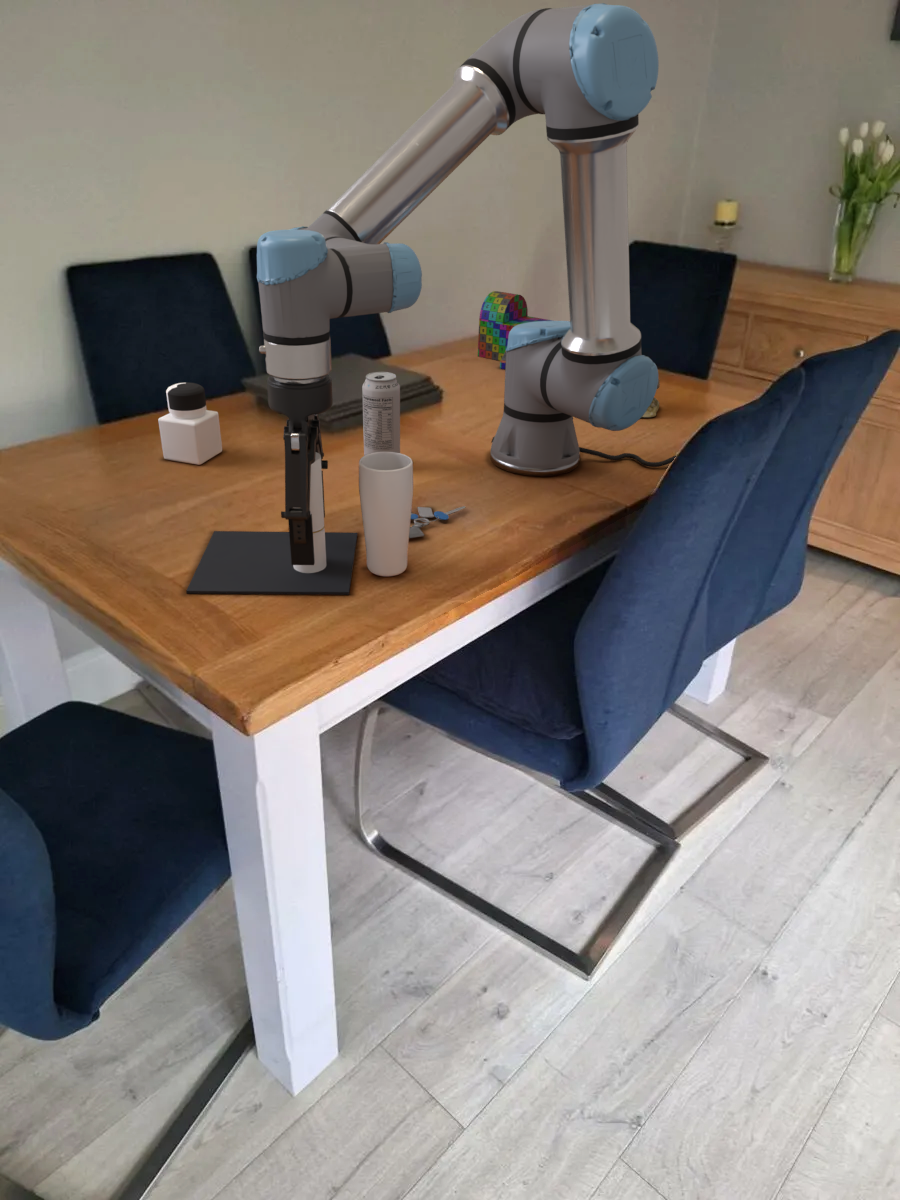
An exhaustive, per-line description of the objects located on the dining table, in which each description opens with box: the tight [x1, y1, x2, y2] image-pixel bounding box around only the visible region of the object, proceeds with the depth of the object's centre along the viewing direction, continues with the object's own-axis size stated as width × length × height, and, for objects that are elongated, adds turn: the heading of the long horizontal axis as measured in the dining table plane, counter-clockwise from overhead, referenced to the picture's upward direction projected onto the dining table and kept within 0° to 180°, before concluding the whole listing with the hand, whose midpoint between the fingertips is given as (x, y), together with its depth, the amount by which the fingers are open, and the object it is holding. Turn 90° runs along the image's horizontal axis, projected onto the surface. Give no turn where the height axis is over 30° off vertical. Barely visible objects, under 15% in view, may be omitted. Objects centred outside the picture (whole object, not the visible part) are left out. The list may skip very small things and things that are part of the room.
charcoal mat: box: [185, 530, 358, 596], centre depth 116 cm, size 20×17×1 cm
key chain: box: [409, 505, 467, 539], centre depth 128 cm, size 14×8×1 cm, turn 148°
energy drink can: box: [361, 371, 401, 456], centre depth 143 cm, size 6×6×15 cm
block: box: [477, 290, 554, 370], centre depth 202 cm, size 25×17×14 cm
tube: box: [293, 452, 326, 573], centre depth 111 cm, size 4×4×15 cm
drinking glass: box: [358, 452, 414, 577], centre depth 111 cm, size 7×7×15 cm
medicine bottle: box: [157, 382, 223, 466], centre depth 145 cm, size 7×7×12 cm
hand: (309, 539), depth 112 cm, fingers open, 13 cm apart
